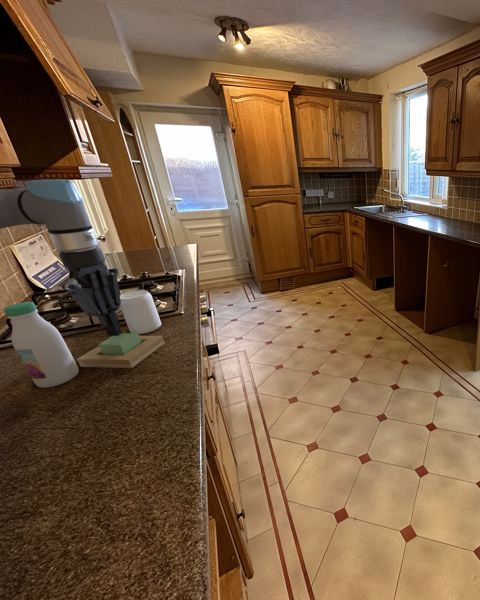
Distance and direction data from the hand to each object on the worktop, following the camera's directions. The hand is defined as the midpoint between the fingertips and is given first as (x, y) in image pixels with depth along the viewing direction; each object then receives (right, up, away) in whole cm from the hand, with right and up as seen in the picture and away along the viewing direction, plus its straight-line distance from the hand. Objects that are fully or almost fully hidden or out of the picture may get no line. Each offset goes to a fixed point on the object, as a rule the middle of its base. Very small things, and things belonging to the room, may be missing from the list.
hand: (115, 334), depth 86 cm
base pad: (0, -6, +3) cm, 6 cm away
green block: (0, -5, +2) cm, 5 cm away
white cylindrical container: (-4, 0, +16) cm, 16 cm away
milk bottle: (-8, -10, -7) cm, 15 cm away
